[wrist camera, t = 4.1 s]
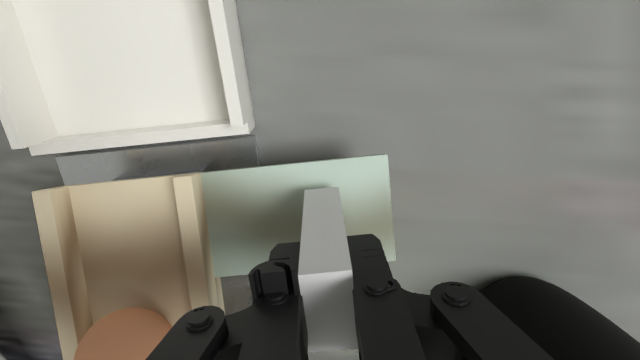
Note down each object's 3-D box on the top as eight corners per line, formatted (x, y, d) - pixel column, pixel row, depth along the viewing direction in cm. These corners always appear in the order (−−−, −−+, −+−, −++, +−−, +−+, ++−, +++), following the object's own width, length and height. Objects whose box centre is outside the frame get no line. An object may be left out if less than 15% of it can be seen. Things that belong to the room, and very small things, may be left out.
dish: (-25, -90, 17) (-137, -136, 13) (216, -119, 17) (182, -175, 13) (57, 146, 21) (-9, 171, 17) (255, 125, 21) (239, 146, 16)
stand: (61, 154, 21) (-75, 211, 14) (255, 134, 21) (221, 182, 13) (154, 423, 28) (96, 556, 21) (299, 410, 28) (293, 541, 20)
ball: (46, 325, 14) (48, 436, 14) (148, 316, 14) (153, 427, 14) (108, 302, 18) (111, 387, 18) (189, 295, 18) (193, 380, 18)
